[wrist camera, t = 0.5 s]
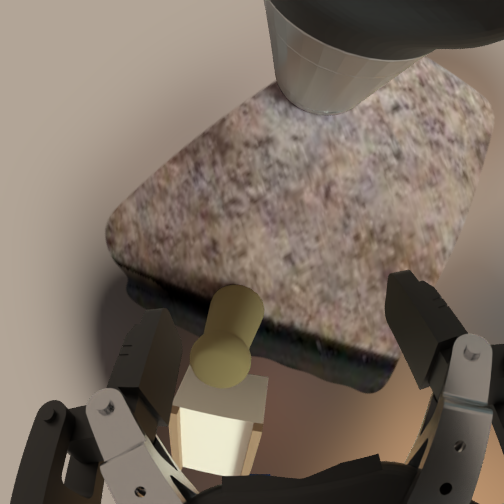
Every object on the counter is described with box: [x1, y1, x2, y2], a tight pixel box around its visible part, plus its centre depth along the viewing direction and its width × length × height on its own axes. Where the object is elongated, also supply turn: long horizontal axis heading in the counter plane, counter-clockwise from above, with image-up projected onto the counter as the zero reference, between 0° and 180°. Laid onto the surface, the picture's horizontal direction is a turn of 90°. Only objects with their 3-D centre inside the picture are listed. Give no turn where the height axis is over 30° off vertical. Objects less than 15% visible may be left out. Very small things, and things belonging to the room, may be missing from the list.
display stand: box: [169, 365, 268, 476], centre depth 34 cm, size 14×10×9 cm
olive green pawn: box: [190, 285, 264, 389], centre depth 28 cm, size 6×6×11 cm
